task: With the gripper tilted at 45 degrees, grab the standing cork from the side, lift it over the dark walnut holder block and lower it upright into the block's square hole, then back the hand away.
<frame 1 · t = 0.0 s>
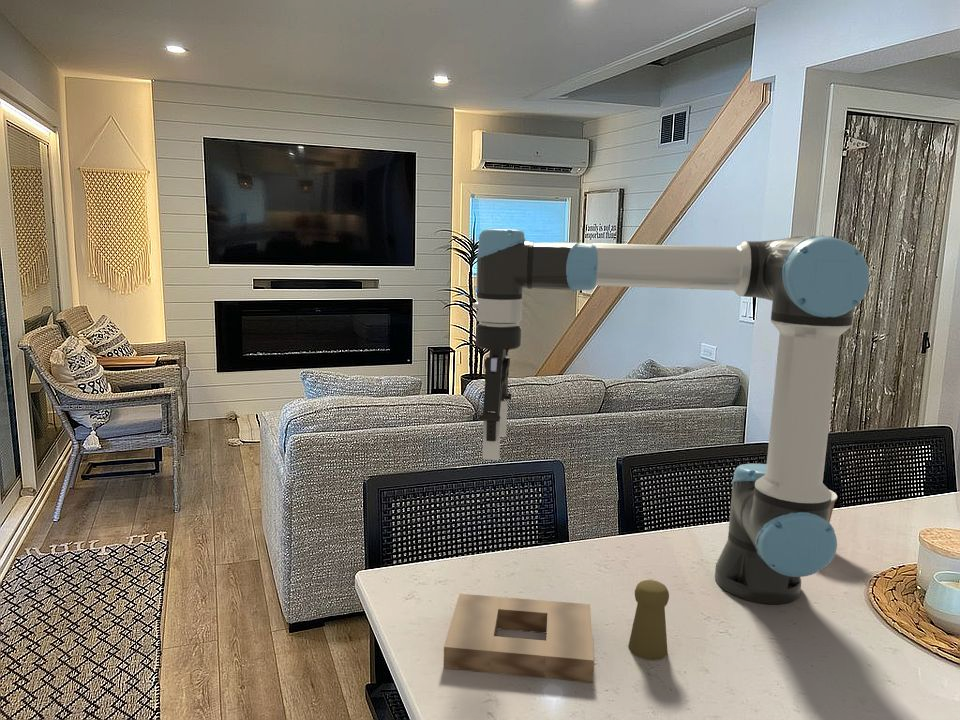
hand: (495, 447, 121), 28 cm above the kitchen island, tool pointing down, fingers open, 13 cm apart
cork: (647, 649, 112), on the kitchen island
coffee cup: (804, 545, 152), on the kitchen island
walnut holder: (520, 644, 112), on the kitchen island
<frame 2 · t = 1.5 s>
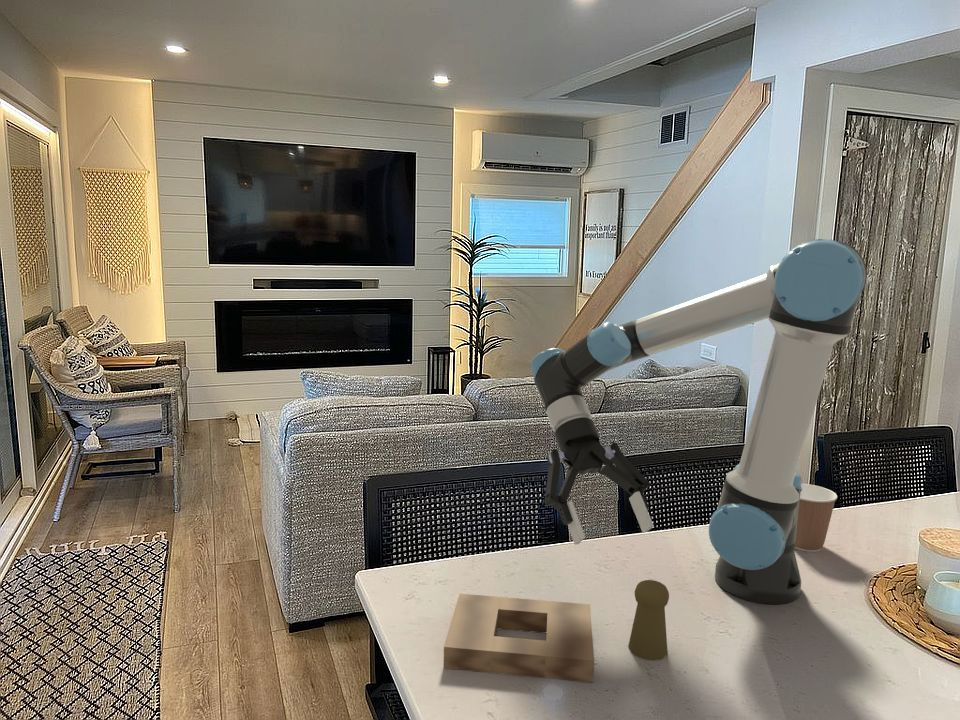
hand: (615, 535, 119), 15 cm above the kitchen island, tool tilted 45°, fingers open, 13 cm apart
nothing on the kitchen island moved.
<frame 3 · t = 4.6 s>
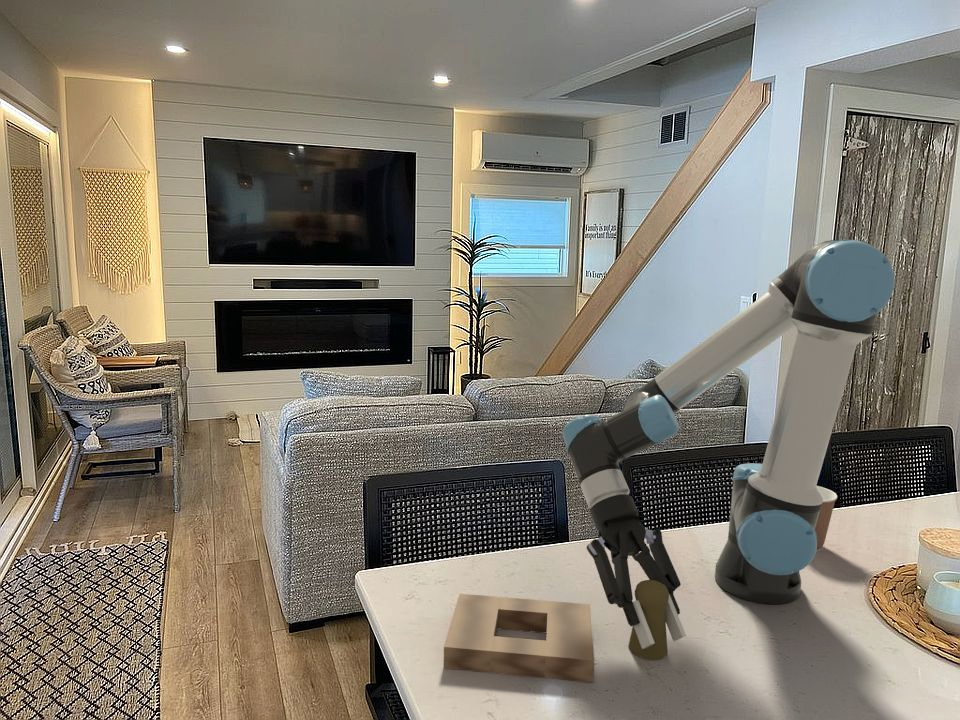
hand: (664, 641, 108), 3 cm above the kitchen island, tool tilted 45°, fingers closed on cork, 5 cm apart
cork: (647, 649, 112), on the kitchen island, touching gripper
everything else where it was.
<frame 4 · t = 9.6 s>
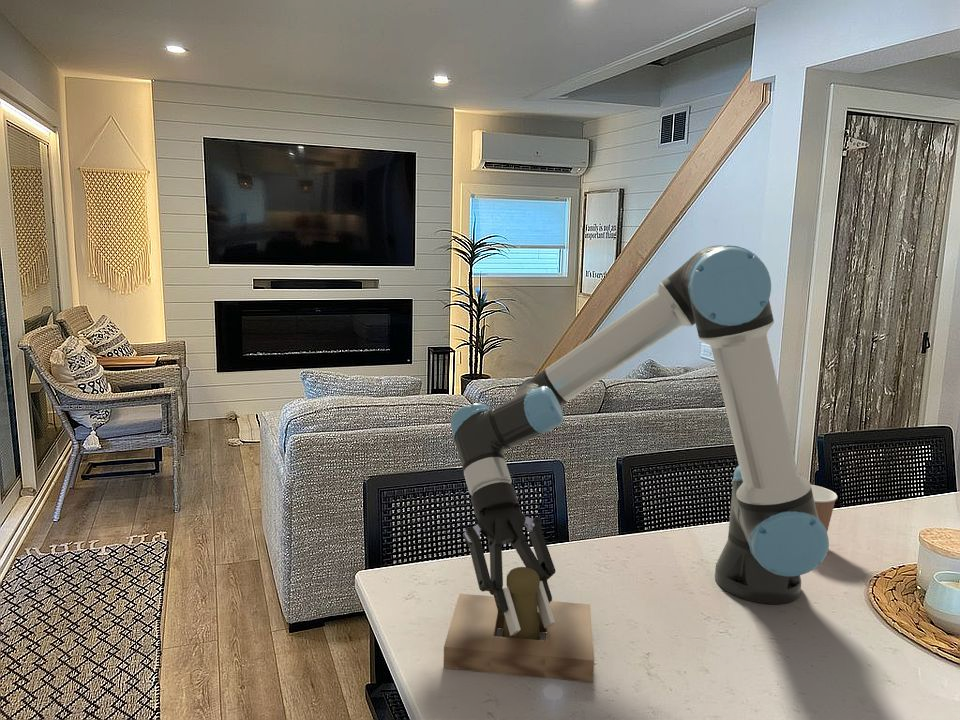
hand: (532, 628, 108), 5 cm above the kitchen island, tool tilted 45°, fingers closed on cork, 5 cm apart
cork: (521, 636, 112), point 1 cm above the kitchen island, touching gripper
everything else where it was.
when the fingers open (5 cm above the kitchen island, at t = 10.1 s): cork drops 2 cm, resting in walnut holder.
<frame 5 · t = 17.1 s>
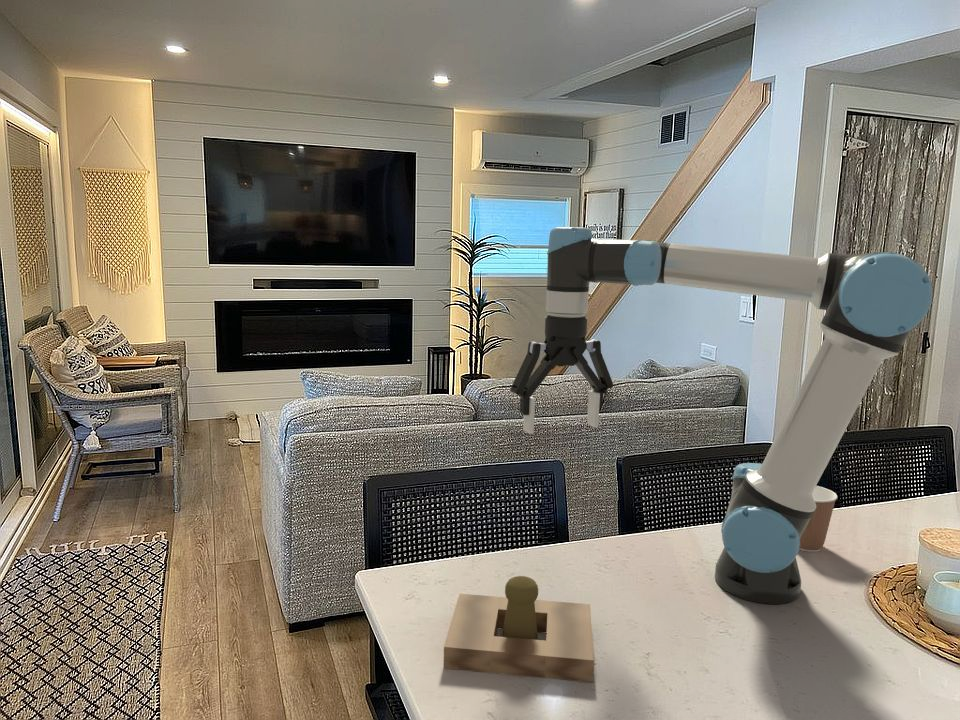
hand: (561, 428, 131), 29 cm above the kitchen island, tool pointing down, fingers open, 13 cm apart
cork: (519, 645, 112), resting in walnut holder
everything else where it was.
at the end: cork 0.1 cm off-centre on the walnut holder, point 0.0 cm above the walnut holder's base; cork tilted 0°; the gripper is holding nothing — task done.
